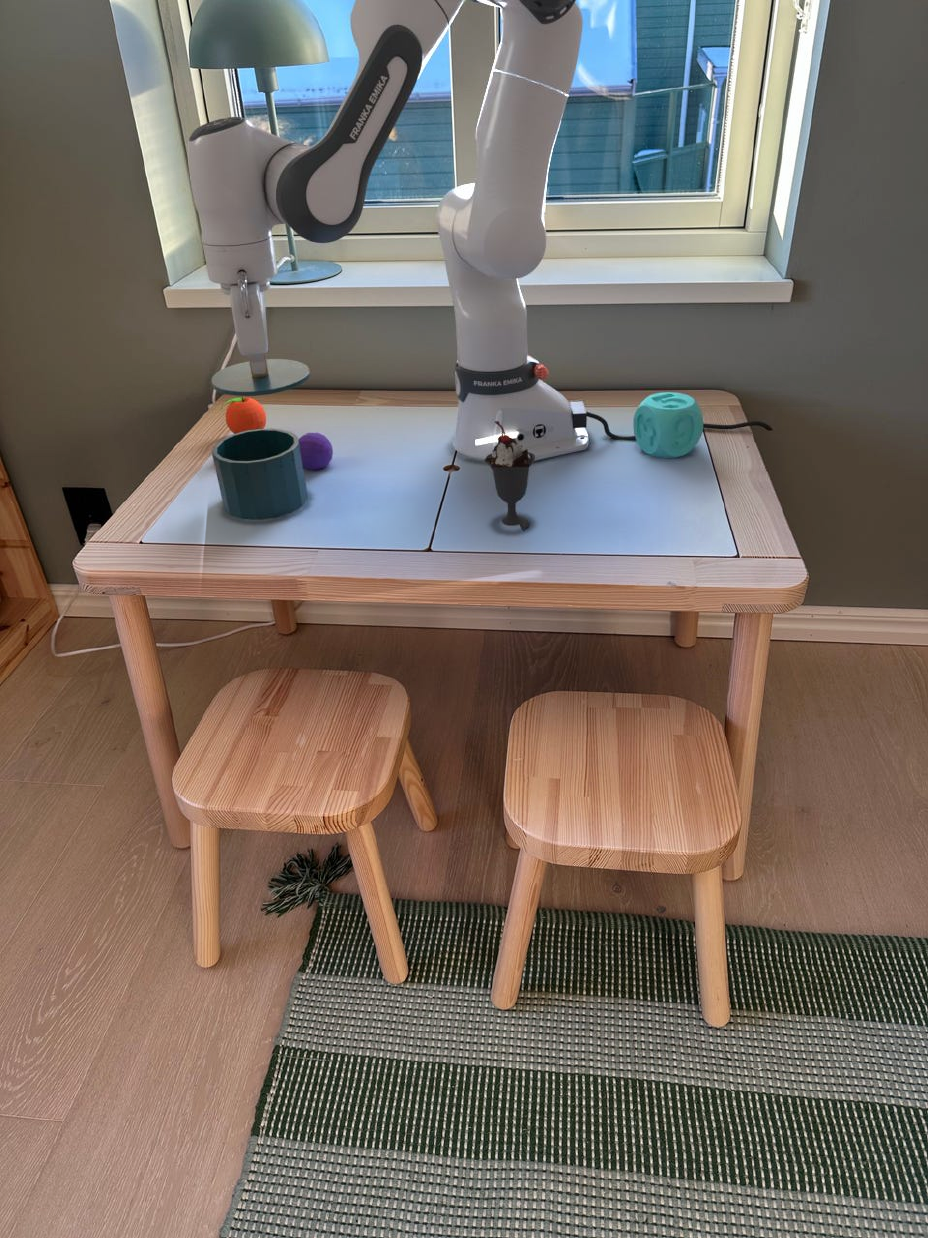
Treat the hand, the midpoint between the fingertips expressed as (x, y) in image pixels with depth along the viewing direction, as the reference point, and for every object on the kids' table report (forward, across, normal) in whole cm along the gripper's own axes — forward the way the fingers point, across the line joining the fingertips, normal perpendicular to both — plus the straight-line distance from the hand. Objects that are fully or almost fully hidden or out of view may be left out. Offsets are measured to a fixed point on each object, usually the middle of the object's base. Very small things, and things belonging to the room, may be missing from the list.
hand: (259, 367), depth 125 cm
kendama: (+21, +16, 0) cm, 27 cm away
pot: (+21, +2, +2) cm, 22 cm away
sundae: (+21, -15, -31) cm, 41 cm away
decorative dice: (+21, +3, -62) cm, 65 cm away
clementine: (+21, +30, +5) cm, 37 cm away
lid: (+2, 0, 0) cm, 2 cm away
